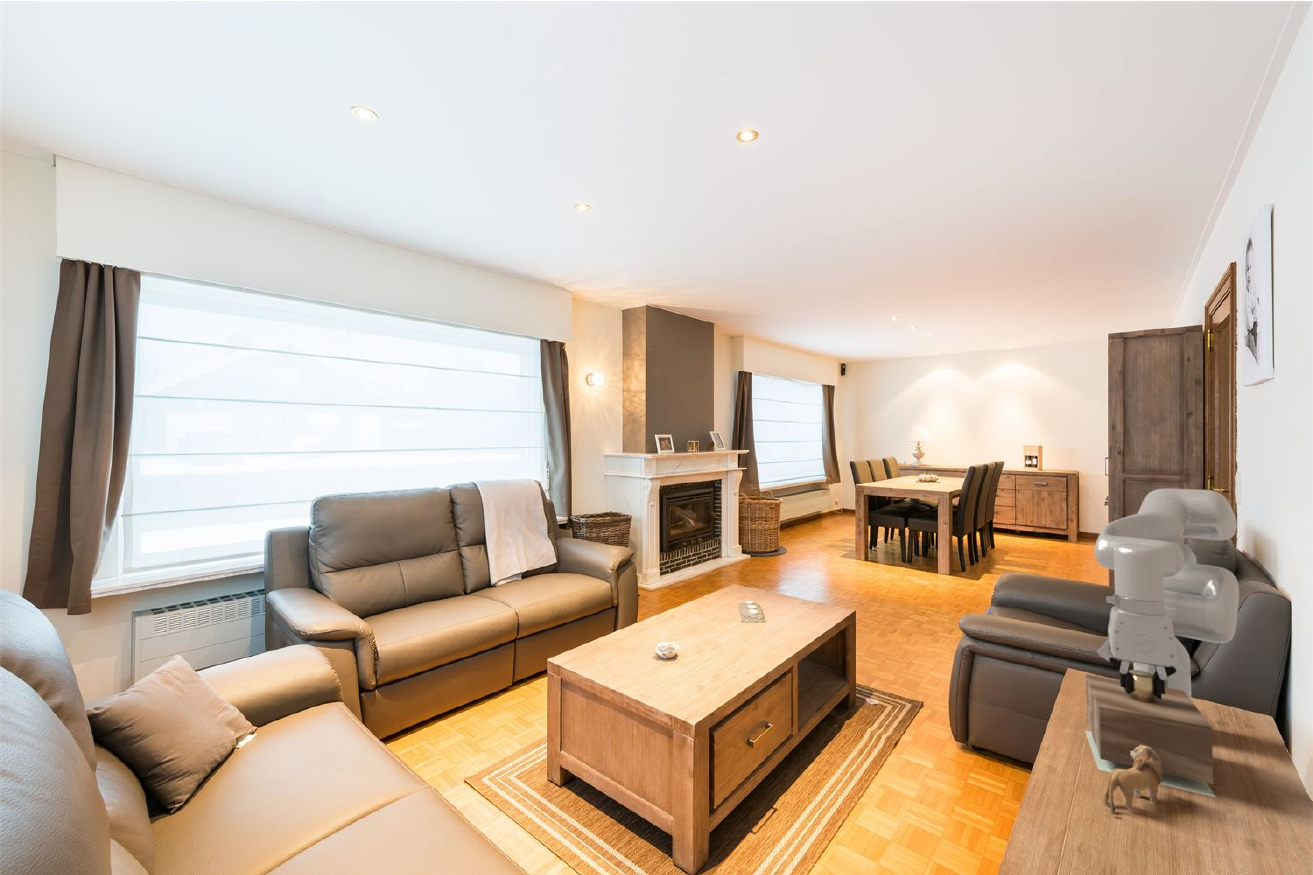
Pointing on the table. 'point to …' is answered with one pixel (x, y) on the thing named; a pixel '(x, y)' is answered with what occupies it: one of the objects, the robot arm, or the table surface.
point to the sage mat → (1166, 778)
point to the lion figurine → (1136, 778)
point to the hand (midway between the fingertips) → (1142, 692)
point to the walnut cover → (1149, 725)
